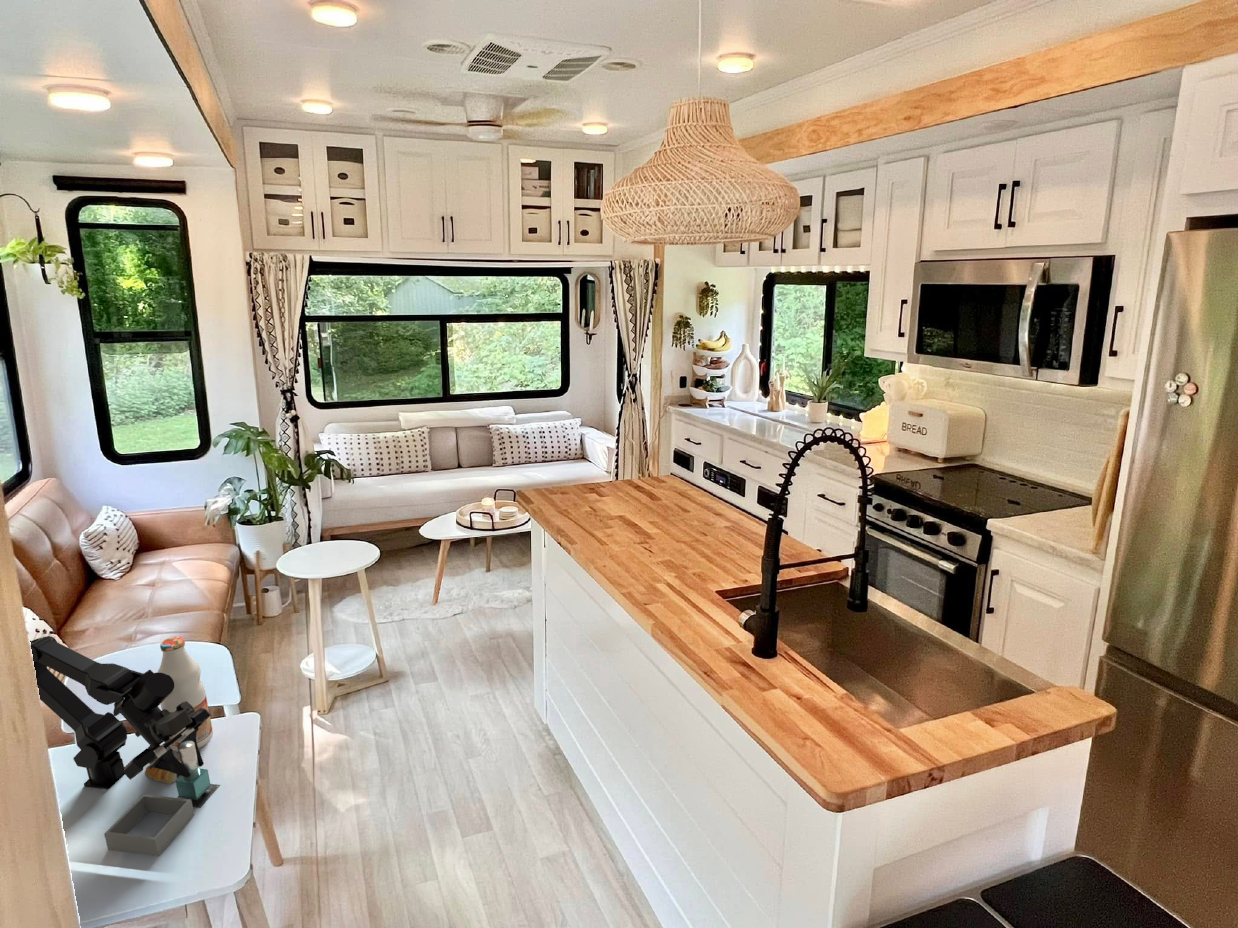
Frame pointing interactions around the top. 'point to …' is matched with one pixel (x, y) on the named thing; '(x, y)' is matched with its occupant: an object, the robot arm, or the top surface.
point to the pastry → (162, 775)
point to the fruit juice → (184, 685)
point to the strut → (198, 777)
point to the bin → (146, 803)
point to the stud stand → (203, 796)
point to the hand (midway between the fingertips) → (195, 770)
